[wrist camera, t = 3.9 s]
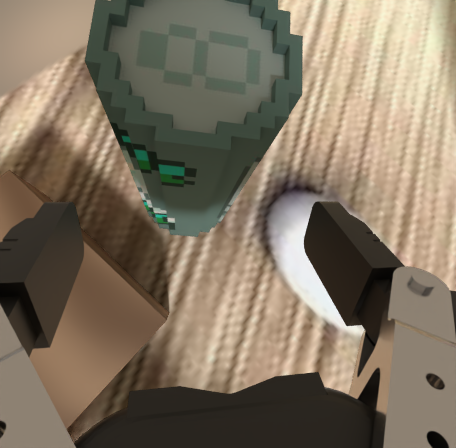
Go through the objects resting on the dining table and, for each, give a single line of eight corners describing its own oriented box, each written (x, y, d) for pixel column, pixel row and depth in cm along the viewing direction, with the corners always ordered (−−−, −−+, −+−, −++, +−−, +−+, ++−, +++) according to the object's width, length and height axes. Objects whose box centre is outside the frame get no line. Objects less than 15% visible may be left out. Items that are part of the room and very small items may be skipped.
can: (151, 154, 23) (105, -59, 9) (228, 163, 24) (303, -18, 10) (142, 232, 22) (72, 130, 8) (224, 238, 23) (301, 158, 9)
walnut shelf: (47, 196, 22) (9, 170, 17) (169, 312, 21) (166, 320, 17) (-146, 355, 18) (-264, 381, 13) (-2, 497, 18) (-68, 576, 13)
